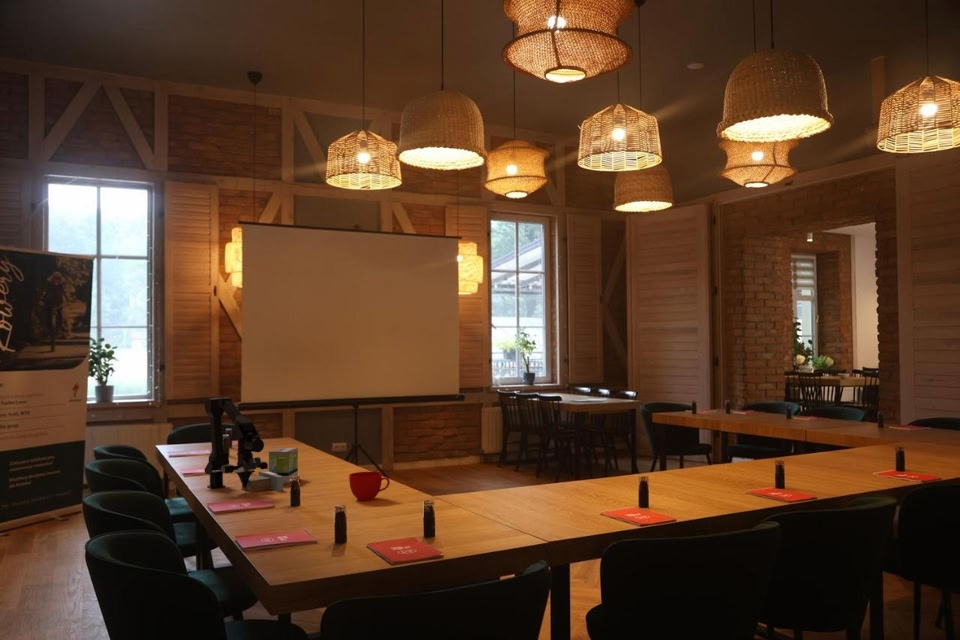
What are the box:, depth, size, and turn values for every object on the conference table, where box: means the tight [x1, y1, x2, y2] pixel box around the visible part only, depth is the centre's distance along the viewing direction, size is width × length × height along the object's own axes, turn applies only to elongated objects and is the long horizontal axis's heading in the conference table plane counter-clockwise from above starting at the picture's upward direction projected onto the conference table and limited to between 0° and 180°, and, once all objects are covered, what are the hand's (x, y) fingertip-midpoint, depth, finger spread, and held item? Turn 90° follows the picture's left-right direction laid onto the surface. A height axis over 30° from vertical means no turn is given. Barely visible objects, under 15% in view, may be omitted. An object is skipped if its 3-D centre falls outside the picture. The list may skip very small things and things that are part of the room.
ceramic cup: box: [348, 471, 391, 502], centre depth 303 cm, size 13×17×10 cm
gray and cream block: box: [258, 470, 284, 492], centre depth 337 cm, size 22×3×6 cm, turn 37°
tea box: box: [268, 447, 299, 484], centre depth 354 cm, size 15×10×15 cm, turn 179°
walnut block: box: [241, 475, 272, 493], centre depth 333 cm, size 9×9×5 cm
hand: (244, 487), depth 327 cm, fingers closed
